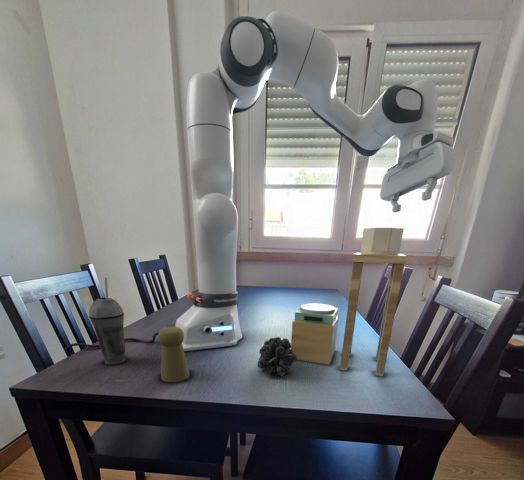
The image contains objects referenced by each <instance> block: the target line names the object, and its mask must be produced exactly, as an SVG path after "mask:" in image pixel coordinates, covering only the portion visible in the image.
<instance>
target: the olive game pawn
mask: <svg viewBox="0 0 524 480" xmlns="http://www.w3.org/2000/svg"><path fill="white" fill-rule="evenodd" d="M166 327H167V326H166ZM166 327H163V328H161V329H160V330H159V331H158V332H159V333H158V335H157V339H158V342H159V343H160V344H161V361H160V364H161V365H160V379H161V381H163V382H165V383H178V382H182V381H185V380H187V379H188V378H189V377H190V371H189V367H188V361H187V357H186V354H185V351H184V349H183V345H182V342H183V340H184V333H183V331H182V330H181V329H180V328H178V327H167V328H166Z"/></svg>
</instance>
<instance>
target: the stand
mask: <svg viewBox="0 0 524 480" xmlns="http://www.w3.org/2000/svg"><path fill="white" fill-rule="evenodd" d="M407 260H408V255H406V254H403V253H399V254H398V255H384V254H361V252H355V253H353V255H352V271H351V278H350V284H349V285H350V286H349V293H348V303H347V310H346V317H345V324H344V325H345V326H344V333H343V340H342V341H343V342H342V350H341V356H340V365H339V370H341V371H348V366H349V358H350V357H351V354H352V349H353V347H352V345H353V341H354V332H355V325H356V318H357V311H358V303H359V296H360V290H361V282H362V275H363V268H364V263H373V264H391V268H390V274H389V279H388V286H387V292H386V297H385V302H384V307H383V308H384V309H383V314H382V320H381V326H380V331H379V337H378V343H377V349H376V355H375V361H377V363H376V369H375V376H378V377H384V374H385V368H386V363H387V359H388V354H389V353H388V352H389V347H390V344H391V343H390V342H391V337H392V332H393V326H394V322H395V316H396V310H397V305H398V300H399V294H400V289H401V286H402V285H401V284H402V278H403V273H404V268H405V265H406V264H407Z"/></svg>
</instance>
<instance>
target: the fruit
mask: <svg viewBox="0 0 524 480" xmlns="http://www.w3.org/2000/svg"><path fill="white" fill-rule="evenodd" d="M281 338H282V337H279V336H278V337H270V338H269V339H268V340H265V341H264V342H263V345H262V346H261V347H260V349H259V353H258V354H259V358H258V361H257V367H258V368H259V369H261V372H262V373H263V374H264V375H268V374H271V375H272V376H277V375H278V376H284V375H285V374H287V373H288V372H290V367H292V365H293V363H295V362H297V361H298V360H297V357H296V355H293V352H292V350H291V341H290V340H289V339H288V338H282V339H281Z"/></svg>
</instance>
